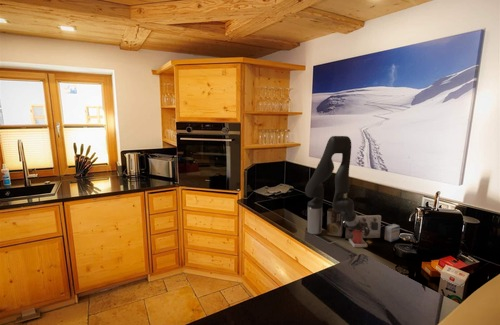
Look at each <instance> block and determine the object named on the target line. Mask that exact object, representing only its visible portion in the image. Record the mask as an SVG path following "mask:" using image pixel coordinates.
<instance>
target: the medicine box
mask: <svg viewBox="0 0 500 325" xmlns="http://www.w3.org/2000/svg"><path fill="white" fill-rule="evenodd" d="M400 227H401V226H400V225H399V224H396V223H392V224H389V225H386V226H384V240H385V241H388V242H390V243H392V242H394V241H398V240H399V239H400V230H401V229H400Z"/></svg>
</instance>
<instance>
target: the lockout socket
mask: <svg viewBox="0 0 500 325" xmlns="http://www.w3.org/2000/svg"><path fill="white" fill-rule="evenodd" d="M348 242H349V243H350V244H351V245H352V247H353V248H368V243H367V242H366V241H365V240H364V238H362V241H361V244H354V243H353V238H352V239H348Z"/></svg>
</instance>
